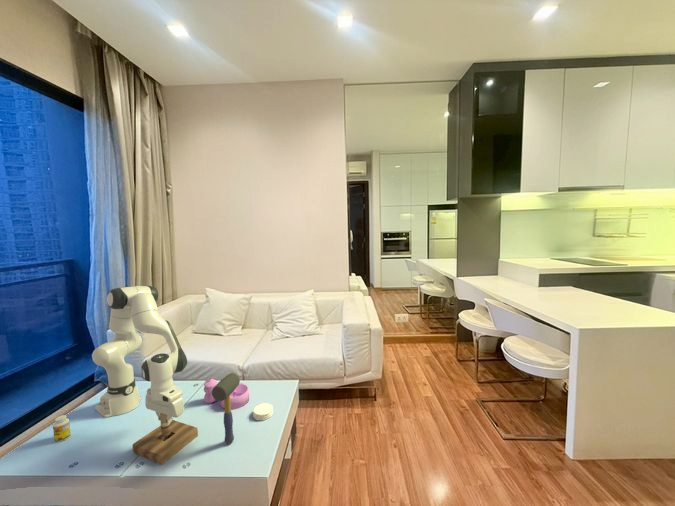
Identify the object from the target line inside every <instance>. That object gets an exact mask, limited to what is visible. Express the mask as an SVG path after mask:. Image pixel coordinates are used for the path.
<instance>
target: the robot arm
mask: <svg viewBox="0 0 675 506" xmlns="http://www.w3.org/2000/svg"><path fill="white" fill-rule="evenodd" d="M158 300H159V291H158V289H157V288H156V287H155V286H154V285H145V286H144V285H134V286H126V287H125V286H124V287H116V288H112V289H110V290H109V292H107V295H106V303H107V306H108V307H109V308H110V309H111V310H110V317H109V324H108V329H109V331H111V332H112V333H113V334H114V333H115V334H114V335H115V337H114V338H113V339H111V340H109V341H107V342H105V343H102V344H101V345H99V346H98V347H96V348H95V349H94V350H93V352H92V353H91V358H92V362H93V363H94V364H95V365H96V366H100V367H103V368H104V369H105V371H106V375H107V381H108V384H107V385H106V388H107V391H106V392H105V393H104V394H103V395H101V396H100V398H99V403H98V404H97V405H96V406H95V407H94V410H95V411H97V413H99V415H101V416H102V417H103V418H111V417H113V416H114V417H115V416H118V415H119V416H120V415H123V414H127V413H128V412H131V411H133V410H135V409H136V408H137V407H139V405H140V401H141V400H142V396H140V392H139V388H138V387H139V386H138V385H136V382H137V381H136V378H134V377H135V376H134V375H135V374H134V366H133V365H132V364H131V363H128V362H126V361H125V357H126V356H128V355H130V354H132V353H134V352H135V351H137V350H138V349H139V348H140V347H141V346H142V343H143V339H142V336H141V335H140V334H139V333H137V331H138V332H140V333H143V334H144V333H145V334H151V335H152V334H155V335H160V336H162V337H163V338H164V339H165V342H166V343H167V345H168V347H169V350H170V352H169V353H157V354H155V355H152V357H150V358H148V359H145V361H144V362H143V363H142V365H141V377H142V379H143V380H144V381H147V382H150V384H151V385H150V387H148V389H147V390H146V395H145V399H144V400H145V402H144V403H145V408H146V409H147V410H151V411H153V412H155V414H156V416H157V420H158V421H160V413H162V414H166V415H167V417H168V418H167V419H166V423H170V422H172V420H173V419H172V418H175V419H176V418H178V417H180V416H181V415H182V414H183V413H184V410H185V409H184V407H185V405H184V399H183V397H182V396H183V395H184V392H183V390H182V389H180V388H179V387H178V386H177V385H176V384H174V383H175V381H174V379H173V375H174V374H177V373H180V372H182V371H184V370H185V368H186V367H187V365H188V357H187V355H186V353H185V351H184V350H183V348H182V346H181V344H180V342H179V339H178V338H177V335H176V333H175V330H174V329H173V327H172V325H171V323H170V321H168V319H167V320H166V319H164V318H163V317H162V316H161V314H160V311H159V308H158V304H157V301H158ZM136 330H137V331H136Z"/></svg>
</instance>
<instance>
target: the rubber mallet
mask: <svg viewBox="0 0 675 506" xmlns="http://www.w3.org/2000/svg"><path fill="white" fill-rule="evenodd" d="M239 383H240V378H239V375H237V374H236V373H235V372H230V373H228V374H227V375H225V376H224V377H223V378H221V380H219V382H217V385H216V386H215V387H214V388H213V390H212V396H213V398H214V399H215V400H216V401H217V402H220V401H223V400H224V407H225V409H224V413H223V426H224V442H225V444H226V445H231V444H232V443H234V438H235V435H234V433H233V432H234V431H233V428H234V427H233V424H234V423H233V422H234V421H233V412H232V410H231V405H230V394H231V393H232V392H233V391H234V390H235V389H236V388H237V386H238V385H239Z"/></svg>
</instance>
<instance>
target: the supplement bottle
mask: <svg viewBox="0 0 675 506" xmlns="http://www.w3.org/2000/svg"><path fill="white" fill-rule="evenodd" d="M52 430H53V431H52V432H53V439H54V442H56V443H58V442H62V441H65V440H67V439H69V438H70V437H71V434H72V433H71V425H70V419H69V418H67V415H66V414H62V415H59V416H56V418H54V423H53V424H52Z"/></svg>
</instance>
